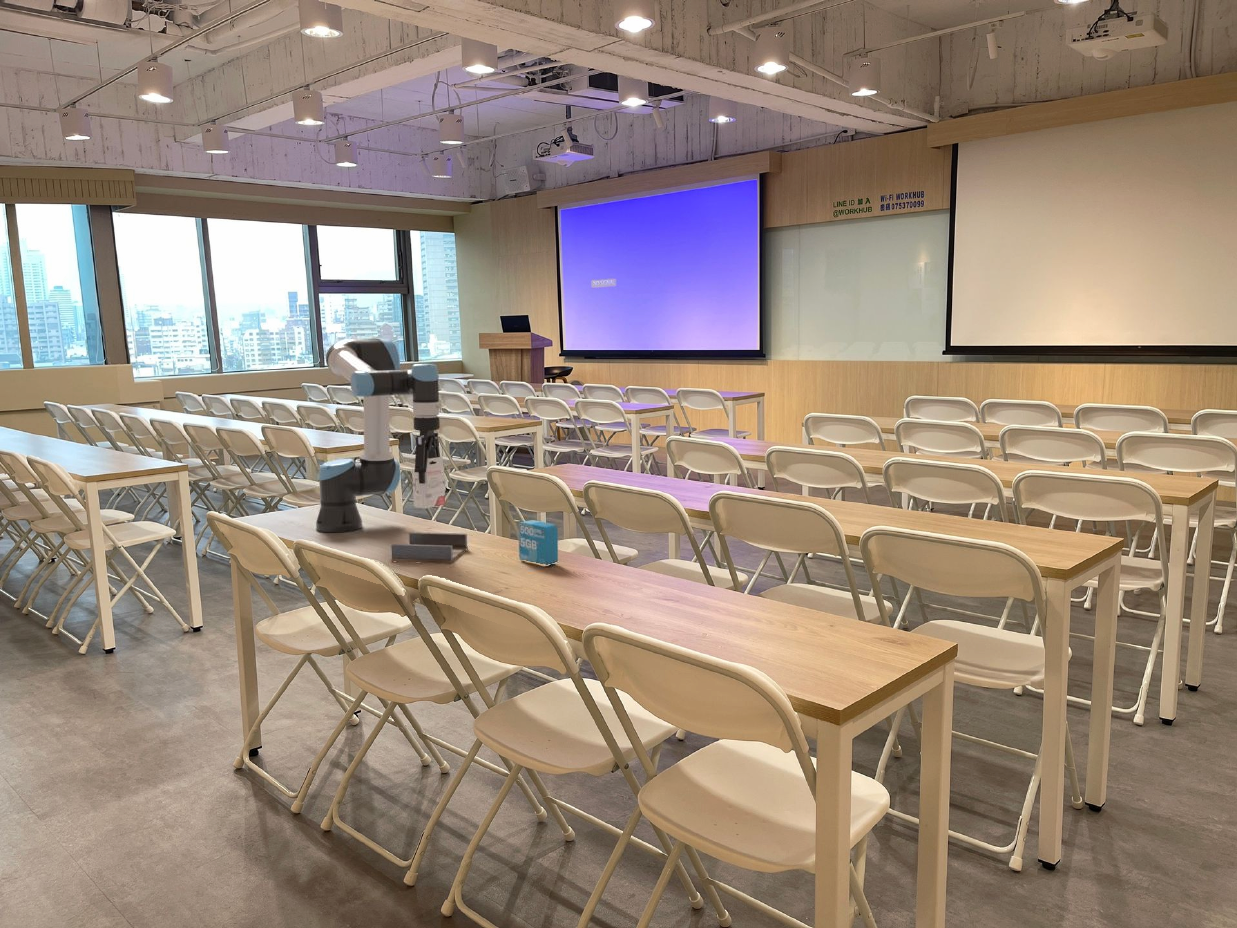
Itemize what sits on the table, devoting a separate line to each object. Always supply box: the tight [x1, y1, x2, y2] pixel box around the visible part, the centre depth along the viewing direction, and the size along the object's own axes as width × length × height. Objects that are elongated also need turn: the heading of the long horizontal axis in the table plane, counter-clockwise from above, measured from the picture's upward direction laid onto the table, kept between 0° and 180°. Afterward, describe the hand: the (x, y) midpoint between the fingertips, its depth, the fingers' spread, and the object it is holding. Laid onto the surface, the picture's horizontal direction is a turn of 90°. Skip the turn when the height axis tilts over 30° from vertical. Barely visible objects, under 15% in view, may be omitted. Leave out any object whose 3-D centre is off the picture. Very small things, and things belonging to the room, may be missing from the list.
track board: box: [390, 531, 469, 565], centre depth 270 cm, size 18×18×5 cm
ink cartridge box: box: [411, 456, 446, 510], centre depth 267 cm, size 9×5×15 cm, turn 143°
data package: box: [518, 519, 559, 565], centre depth 261 cm, size 12×4×12 cm, turn 49°
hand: (428, 491), depth 267 cm, fingers closed on ink cartridge box, 9 cm apart
